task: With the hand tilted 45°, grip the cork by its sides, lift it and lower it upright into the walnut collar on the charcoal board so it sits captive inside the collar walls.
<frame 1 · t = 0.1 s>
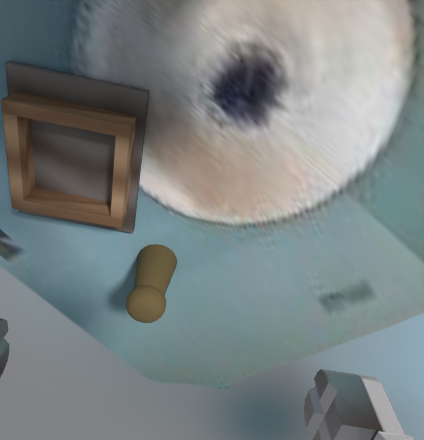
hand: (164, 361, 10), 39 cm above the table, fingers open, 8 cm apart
cork: (157, 259, 58), on the table
collar: (79, 155, 49), on the table
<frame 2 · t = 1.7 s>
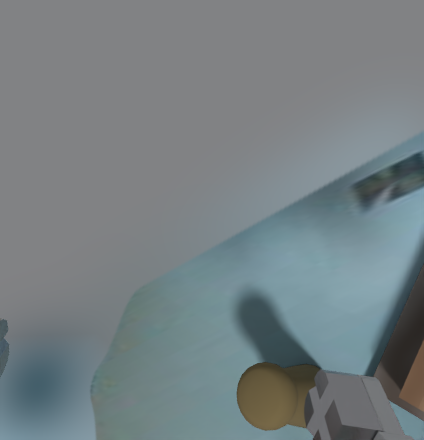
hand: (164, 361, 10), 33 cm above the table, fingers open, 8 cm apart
cork: (308, 395, 39), on the table
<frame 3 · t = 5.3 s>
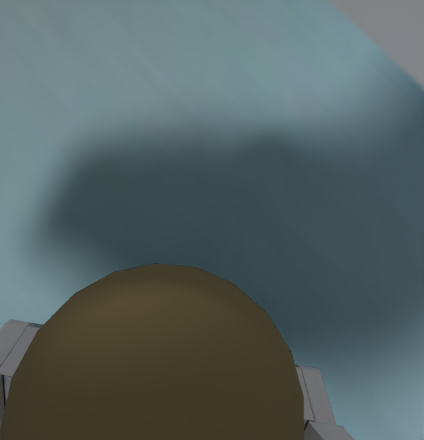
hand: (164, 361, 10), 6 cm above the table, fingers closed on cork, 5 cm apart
cork: (160, 368, 16), on the table, touching gripper
when the fingers open (8 cm above the table, at t = 11.5 s): cork stays where it is, resting on collar.
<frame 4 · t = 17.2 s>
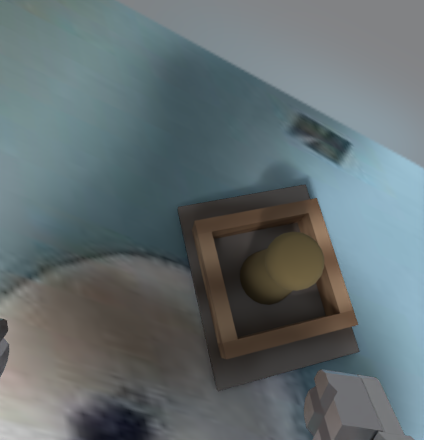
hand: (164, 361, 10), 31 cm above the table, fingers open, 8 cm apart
cork: (265, 277, 42), point 1 cm above the table, touching collar
collar: (263, 278, 43), on the table
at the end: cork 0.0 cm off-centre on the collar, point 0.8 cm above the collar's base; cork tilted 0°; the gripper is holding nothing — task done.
